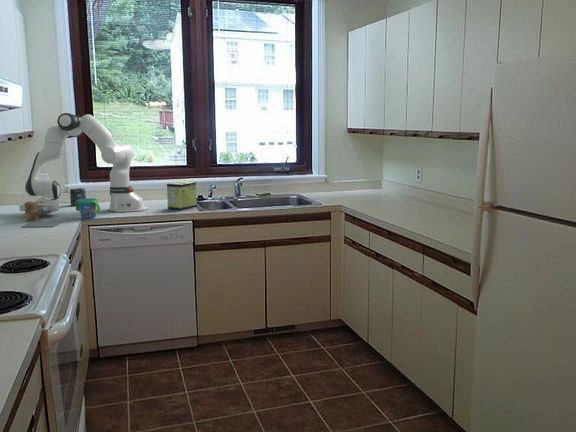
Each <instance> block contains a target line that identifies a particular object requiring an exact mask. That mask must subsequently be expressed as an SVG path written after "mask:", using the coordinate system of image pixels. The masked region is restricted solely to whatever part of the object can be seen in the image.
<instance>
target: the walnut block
mask: <svg viewBox="0 0 576 432" xmlns="http://www.w3.org/2000/svg"><path fill="white" fill-rule="evenodd" d="M23 204H24V205H25V211H24V212H25V213H24V215H25V222H27V223H28V222H32V221H40V215H39V214H40V212H38V202H36V201H26V202H24V203H23Z"/></svg>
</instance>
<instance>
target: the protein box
mask: <svg viewBox="0 0 576 432" xmlns="http://www.w3.org/2000/svg"><path fill="white" fill-rule="evenodd" d="M166 192H167V194H166V195H167V196H166V197H167V199H166V200H167V210H175V211H184V210H188V209H193V208H197V205H198V204H197V182H196V181H183V180H181V181H176V182H170V183H166Z"/></svg>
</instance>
